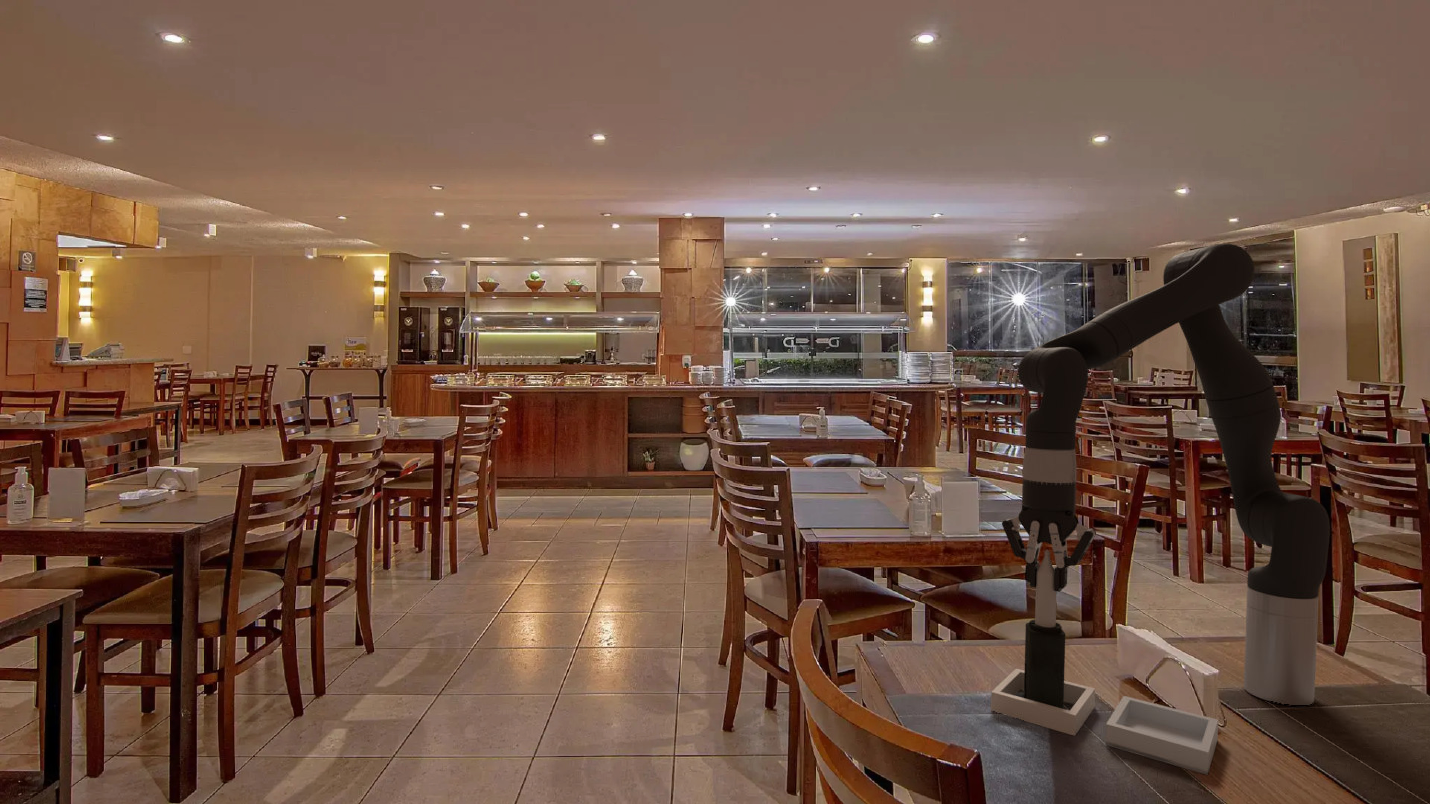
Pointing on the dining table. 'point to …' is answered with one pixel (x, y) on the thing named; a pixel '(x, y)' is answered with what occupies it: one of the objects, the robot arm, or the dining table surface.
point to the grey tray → (1163, 734)
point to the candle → (1045, 644)
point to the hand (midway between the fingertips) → (1046, 587)
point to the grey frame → (1044, 705)
